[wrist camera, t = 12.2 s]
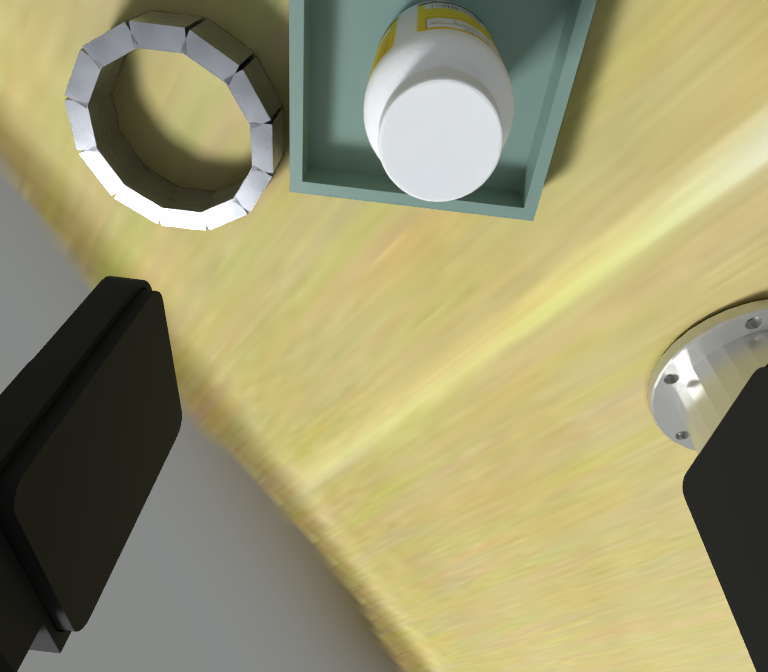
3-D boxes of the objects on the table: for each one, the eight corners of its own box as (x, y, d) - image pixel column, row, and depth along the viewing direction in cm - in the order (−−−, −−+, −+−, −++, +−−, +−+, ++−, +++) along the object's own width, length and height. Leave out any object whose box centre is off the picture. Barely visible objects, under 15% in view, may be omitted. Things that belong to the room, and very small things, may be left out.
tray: (603, -84, 22) (620, -81, 20) (526, 199, 30) (533, 221, 28) (300, -122, 22) (288, -123, 20) (298, 171, 30) (289, 191, 28)
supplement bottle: (404, 146, 28) (395, 243, 20) (354, 34, 25) (322, 98, 17) (512, 99, 26) (546, 185, 19) (472, -27, 23) (493, 14, 16)
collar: (282, 26, 26) (270, 38, 24) (284, 216, 31) (274, 238, 29) (72, 0, 25) (42, 10, 23) (114, 196, 31) (92, 217, 29)
